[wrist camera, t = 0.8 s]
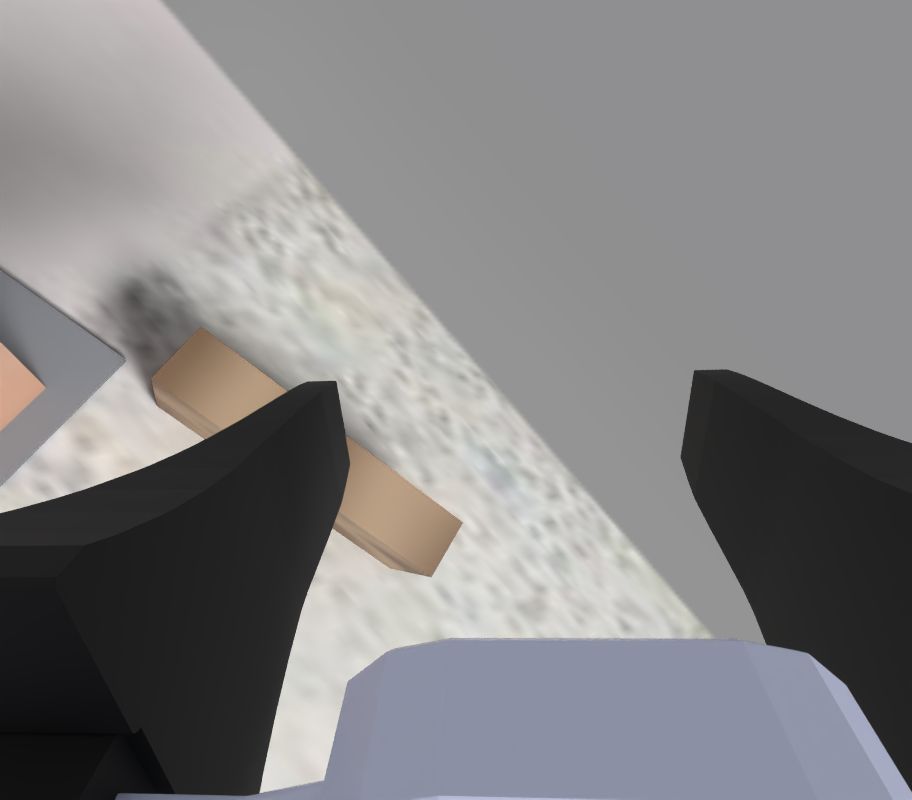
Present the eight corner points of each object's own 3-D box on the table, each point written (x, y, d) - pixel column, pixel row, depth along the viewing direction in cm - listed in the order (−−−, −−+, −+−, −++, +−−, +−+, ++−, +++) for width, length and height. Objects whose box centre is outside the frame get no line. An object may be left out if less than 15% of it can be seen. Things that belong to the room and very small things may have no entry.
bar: (416, 522, 27) (462, 522, 22) (388, 568, 26) (431, 577, 21) (197, 362, 24) (200, 326, 20) (157, 406, 23) (150, 378, 19)
